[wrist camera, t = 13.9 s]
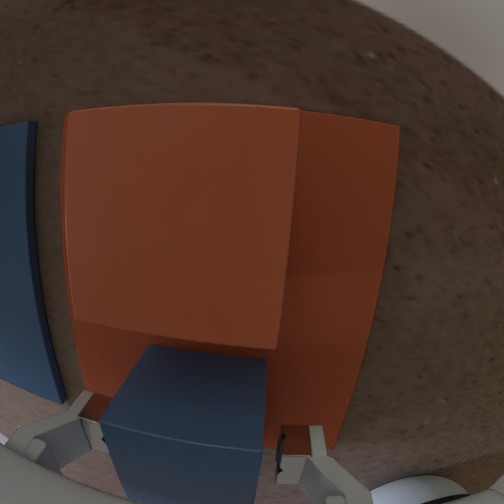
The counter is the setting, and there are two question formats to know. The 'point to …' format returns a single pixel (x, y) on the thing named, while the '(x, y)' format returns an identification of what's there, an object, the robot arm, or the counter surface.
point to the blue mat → (22, 273)
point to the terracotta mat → (296, 280)
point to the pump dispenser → (418, 491)
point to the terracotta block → (182, 218)
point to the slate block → (188, 427)
